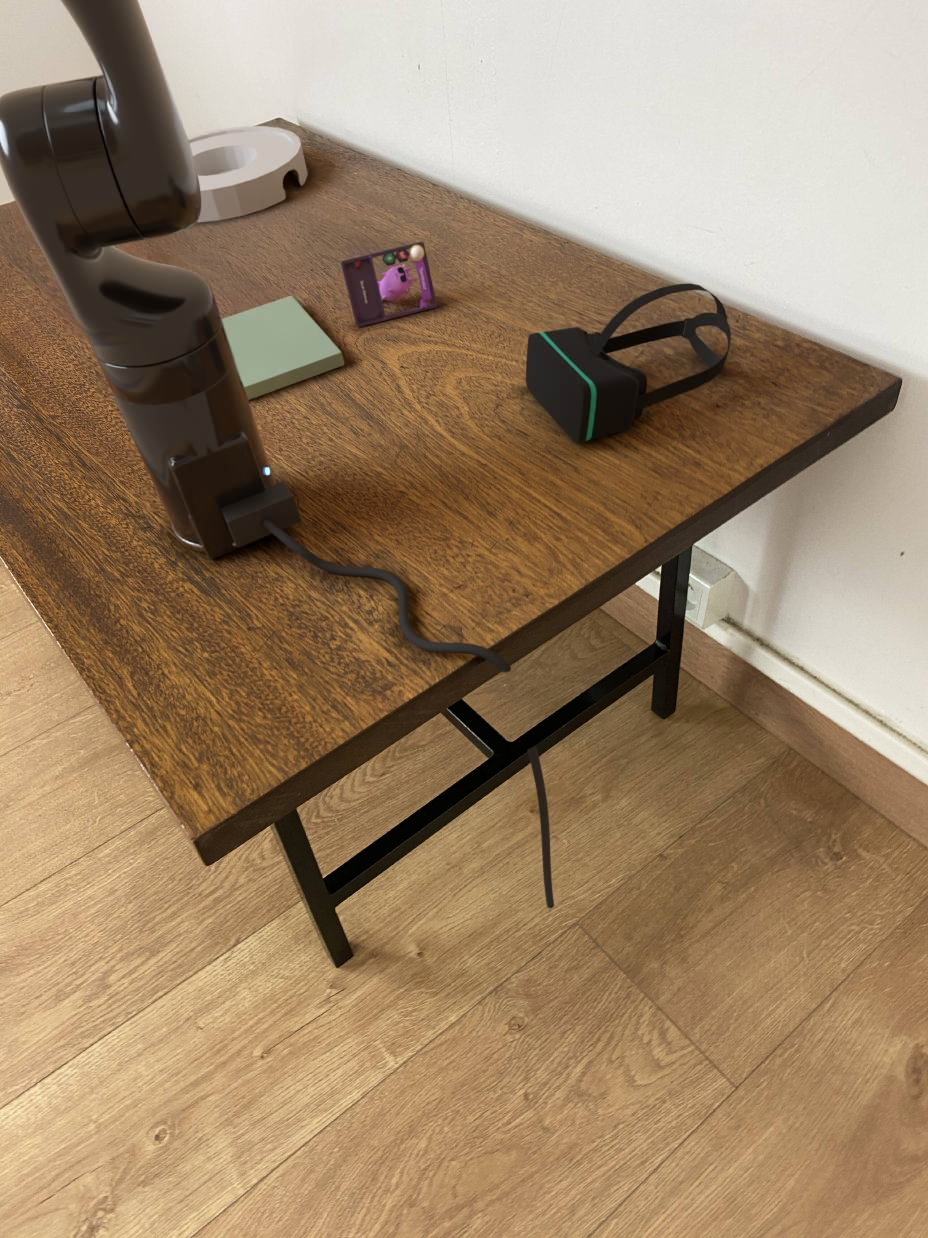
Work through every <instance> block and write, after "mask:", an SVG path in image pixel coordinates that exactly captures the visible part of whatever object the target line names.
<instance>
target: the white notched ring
mask: <svg viewBox="0 0 928 1238" xmlns="http://www.w3.org/2000/svg"><path fill="white" fill-rule="evenodd" d="M187 138H188V141H189V144H190V148H191V151H192V154H193V158H194V161H195V165H196V169H197V174H198V178H199V184H200V192H201V213H200V216H199V219H198V221H197V223H206V222H207V223H208V222H219V221H224V220H229V219H233V218H239V217H243V216H246V215H249V214H252V213H255V212H260V211H262V210H265V209H268V208H270V207H272V206H274V205H277V204H278V203H280V202H283V201H284V200H285V199H286V197H287V196H286V193H287V192H286V190H285V189H284V184H283V183H284V178H285V176H286V174H287V173H289V172H290V171H291V173H292V174H293V176H294V178H295V179H296V180H297V182H298V183H299V185H300V186H301V187H302V186H303V185H304V184H305V183H306V180H307V178H308V175H309V174H308V168H307V165H306V160H305V156H304V155H305V154H304V151H303V146H302V142H301V140H300V137H299V136H298V135H296V134H295V133H294V132H292V131H290V130H287V129H285V128H281V127H275V126H266V125H244V126H235V127H227V128H226V127H225V128H222V129H216V130H211V131H206V132H203V133H198V134H195V135H192V136H189V137H188V136H187Z"/></svg>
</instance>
